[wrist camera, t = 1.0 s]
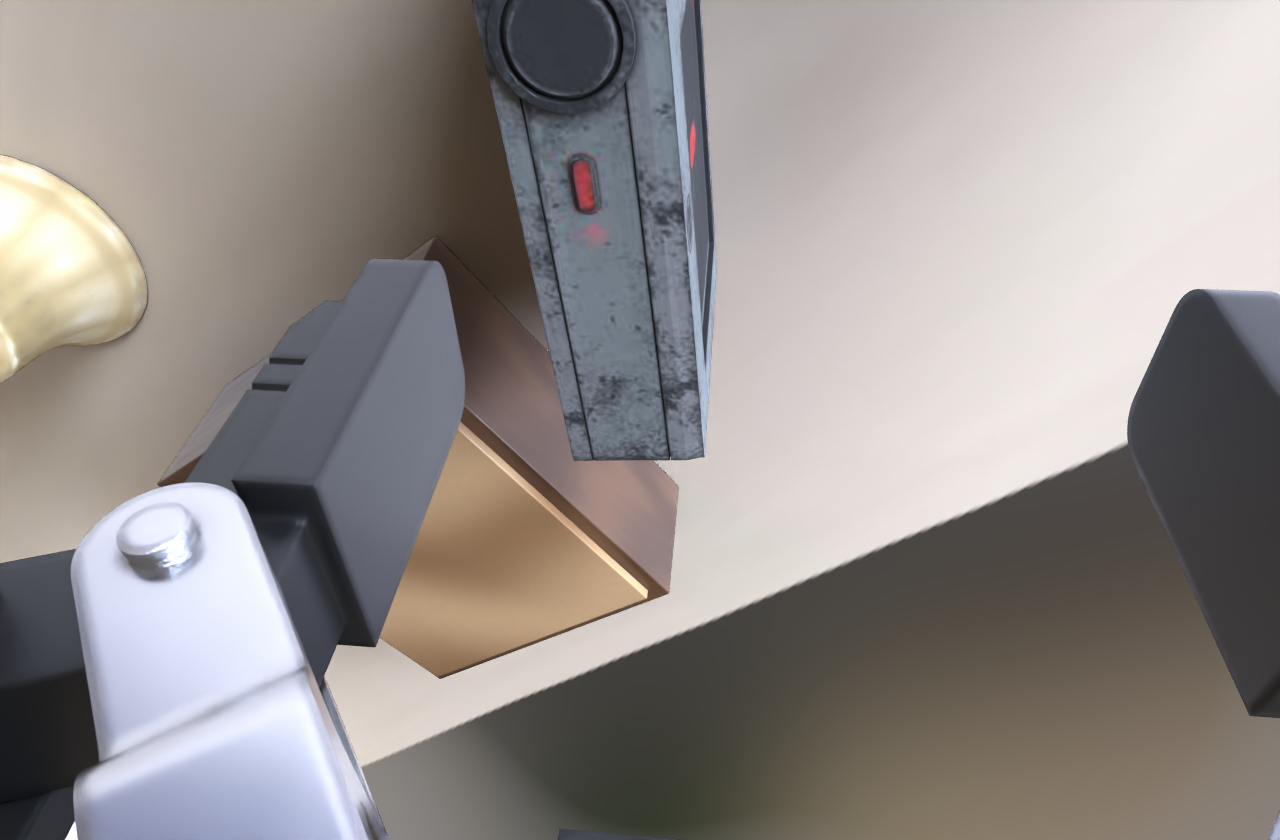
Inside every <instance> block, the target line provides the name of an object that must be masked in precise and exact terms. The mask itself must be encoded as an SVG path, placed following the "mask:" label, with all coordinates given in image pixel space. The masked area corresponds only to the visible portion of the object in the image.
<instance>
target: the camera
mask: <svg viewBox="0 0 1280 840" xmlns="http://www.w3.org/2000/svg"><path fill="white" fill-rule="evenodd" d="M472 4H473V9H474V13H475V18H476V22H477V27H478V31H479V36H480V41H481V45H482V50H483V54H484V59H485V63H486V68H487V72H488V77H489V81H490V86H491V90H492V95H493V99H494V104H495V108H496V113H497V117H498V122H499V126H500V131H501V135H502V140H503V144H504V149H505V153H506V158H507V162H508V167H509V171H510V176H511V181H512V185H513V190H514V194H515V199H516V203H517V208H518V212H519V217H520V221H521V226H522V230H523V235H524V239H525V244H526V248H527V253H528V257H529V262H530V266H531V271H532V276H533V280H534V285H535V289H536V294H537V298H538V303H539V307H540V312H541V316H542V321H543V325H544V330H545V334H546V339H547V343H548V348H549V353H550V357H551V362H552V366H553V371H554V375H555V380H556V384H557V389H558V393H559V398H560V402H561V407H562V411H563V416H564V420H565V425H566V430H567V434H568V439H569V443H570V448H571V452H572V457H573V459H574V461H593V460H595V461H626V460H670V456H671V460H690V459H694V458H699V457H705V445H706V429H707V413H708V398H709V382H710V367H711V351H712V336H713V320H714V304H715V289H716V273H717V265H716V248H715V231H714V214H713V197H712V180H711V163H710V147H709V130H708V113H707V96H706V79H705V62H704V45H703V28H702V12H701V0H472Z"/></svg>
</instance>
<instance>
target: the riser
mask: <svg viewBox="0 0 1280 840" xmlns="http://www.w3.org/2000/svg"><path fill="white" fill-rule="evenodd" d="M403 260H425V261H437V262H439V263H440V264H441V266H442V267H443V270H444V272H445V275H446V279H447V283H448V288H449V293H450V299H451V304H452V309H453V314H454V319H455V324H456V330H457V335H458V340H459V345H460V350H461V355H462V361H463V366H464V372H465V401H464V409H463V414H462V418H461V421H460V424H459V427H458V429H457V432H456V435H455V437H454V440H453V443H452V445H451V448H450V451H449V453H448V456H447V459H446V461H445V464H444V467H443V469H442V472H441V475H440V477H439V480H438V483H437V485H436V488H435V491H434V493H433V496H432V498H431V501H430V504H429V506H428V509H427V512H426V514H425V517H424V520H423V522H422V525H421V528H420V530H419V533H418V536H417V538H416V541H415V544H414V546H413V549H412V552H411V554H410V557H409V560H408V562H407V565H406V567H405V570H404V573H403V575H402V578H401V581H400V583H399V586H398V589H397V591H396V594H395V597H394V599H393V602H392V605H391V607H390V610H389V613H388V615H387V618H386V621H385V623H384V626H383V629H382V631H381V634H380V636H379V637H380V638H381V639H383V640H384V641H385V642H387V643H388V644H390V645H391V646H393V647H394V648H396V649H397V650H399V651H400V652H402V653H403V654H404V655H406V656H407V657H409V658H410V659H412V660H413V661H415V662H416V663H418V664H419V665H420V666H422V667H423V668H425V669H426V670H428V671H429V672H431V673H432V674H434V675H435V676H436V677H438V678H439V679H442V678H444V677H447V676H450V675H452V674H455V673H458V672H460V671H463V670H466V669H468V668H471V667H474V666H476V665H479V664H482V663H484V662H487V661H490V660H492V659H495V658H498V657H500V656H503V655H506V654H508V653H511V652H514V651H516V650H519V649H522V648H524V647H527V646H530V645H533V644H535V643H538V642H541V641H543V640H546V639H549V638H551V637H554V636H557V635H559V634H562V633H565V632H567V631H570V630H573V629H575V628H578V627H581V626H583V625H586V624H589V623H591V622H594V621H597V620H599V619H602V618H605V617H607V616H610V615H613V614H615V613H618V612H621V611H623V610H626V609H629V608H631V607H634V606H637V605H639V604H642V603H645V602H647V601H650V600H653V599H655V598H658V597H661V596H664V595H666V594H668V593H669V590H670V579H671V568H672V557H673V546H674V535H675V524H676V513H677V501H678V490H679V487H678V485H677V484H676V483H675V482H674V481H673V480H672V479H671V478H670V477H669V476H668V475H667V474H666V473H665V472H664V471H663V470H662V469H661V468H660V467H659V466H658V465H657V464H656V463H655V462H654V461H653V460H626V461H595V460H593V461H574V459H573V457H572V452H571V448H570V443H569V439H568V434H567V430H566V425H565V420H564V416H563V411H562V407H561V402H560V398H559V393H558V389H557V384H556V380H555V375H554V371H553V366H552V362H551V357H550V353H549V352H548V351H547V350H546V349H545V348H544V347H543V346H542V345H541V344H540V343H539V342H538V341H537V340H536V339H535V338H534V337H533V336H532V335H531V334H530V333H529V332H528V331H527V330H526V329H525V328H524V327H523V326H522V325H521V324H520V323H519V322H518V321H517V319H516V318H515V317H514V316H513V315H512V314H511V313H510V312H509V311H508V310H507V309H506V308H505V307H504V306H503V305H502V304H501V303H500V302H499V301H498V300H497V299H496V298H495V297H494V296H493V295H492V294H491V293H490V292H489V291H488V290H487V289H486V288H485V287H484V285H483V284H482V283H481V282H480V281H479V280H478V279H477V278H476V277H475V276H474V275H473V274H472V273H471V272H470V271H469V270H468V269H467V268H466V267H465V266H464V265H463V264H462V263H461V262H460V261H459V260H458V259H457V258H456V257H455V256H454V255H453V254H452V253H451V252H450V250H449V249H448V248H447V247H446V246H445V245H444V244H443V243H442V242H441V241H440V240H439V239H438V238H437V237H434V238H433V239H431V240H430V241H428V242H427V243H426V244H424V245H423V246H421V247H420V248H419V249H417V250H416V251H414V252H413V253H412V254H410V255H409V256H407V257H406V258H405V259H403ZM271 354H272V353H271ZM271 354H270V355H271ZM270 355H268V356H267V357H265V358H264V359H263V360H261V361H260V362H258V363H257V364H256V365H254V366H253V367H251V368H250V369H249V370H247V371H246V372H244V373H243V374H242V375H240V376H239V377H237V378H236V379H235V380H233V381H232V382H230V383H229V384H228V385H226V386H225V387H224V388H223V390H222V391H221V393H220V394H219V396H218V397H217V398H216V400H215V401H214V403H213V404H212V406H211V407H210V409H209V410H208V411H207V413H206V414H205V416H204V417H203V419H202V420H201V421H200V423H199V424H198V426H197V427H196V429H195V430H194V432H193V433H192V434H191V436H190V437H189V439H188V440H187V442H186V443H185V445H184V446H183V447H182V449H181V450H180V452H179V453H178V455H177V456H176V457H175V459H174V460H173V462H172V463H171V465H170V466H169V468H168V469H167V470H166V472H165V473H164V475H163V476H162V478H161V479H160V480H159V482H158V484H157V485H158V486H160V487H164V486H169V485H173V484H179V483H184V482H185V481H186V479H187V478H188V477H189V475H190V474H191V472H192V471H193V469H194V468H195V466H196V465H197V463H198V462H199V460H200V459H201V457H202V456H203V454H204V453H205V451H206V450H207V448H208V447H209V445H210V444H211V442H212V441H213V440H214V438H215V437H216V435H217V434H218V432H219V431H220V429H221V428H222V426H223V425H224V423H225V422H226V420H227V419H228V417H229V416H230V414H231V413H232V411H233V410H234V408H235V407H236V406H237V404H238V403H239V401H240V400H241V398H242V397H243V395H244V394H245V392H246V391H247V390H252V382H253V380H254V379H255V377H256V376H257V374H258V373H259V371H260V370H261V369H262V367H263V366H264V364H269V357H270Z"/></svg>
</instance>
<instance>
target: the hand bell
mask: <svg viewBox="0 0 1280 840" xmlns="http://www.w3.org/2000/svg"><path fill="white" fill-rule="evenodd" d="M147 292H148V289H147V282H146V278H145V274H144V270H143V267H142V265H141V263H140V260H139V258H138V256H137V254H136V252H135V250H134V248H133V247H132V245H131V244H130V242H129V240H128V239H127V237H126V236H125V235H124V233H123V232H122V231H121V230H120V228H119V227H118V226H117V225H116V224H115V223H114V221H113V220H112V219H111V218H110V217H109V216H108V215H107V214H106V213H105V212H104V211H103V210H102V209H101V208H100V207H99V206H98V205H97V204H96V203H95V202H93V201H92V200H91V199H90V198H89V197H87V196H86V195H85V194H83V193H82V192H81V191H79V190H78V189H76V188H75V187H73V186H71V185H70V184H68V183H67V182H65V181H64V180H62V179H60V178H59V177H57V176H55V175H53V174H51V173H50V172H48V171H46V170H44V169H41V168H39V167H37V166H34V165H32V164H30V163H27V162H23V161H20V160H18V159H15V158H11V157H8V156H4V155H0V382H3V381H5V380H7V379H9V378H10V377H11V376H13V375H14V374H15V373H16V372H18V371H19V370H20V369H21V368H22V367H24V366H25V365H27V364H28V363H29V362H31V361H32V360H34V359H35V358H37V357H38V356H40V355H41V354H42V353H44V352H46V351H48V350H50V349H52V348H54V347H56V346H59V345H70V346H85V345H94V344H100V343H103V342H107V341H111V340H114V339H116V338H119V337H121V336H123V335H124V334H126V333H127V332H129V331H130V330H131V329H133V328H134V327H135V326H136V324H137V323H138V322H139V321H140V319H141V317H142V316H143V313H144V311H145V308H146V304H147Z"/></svg>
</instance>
